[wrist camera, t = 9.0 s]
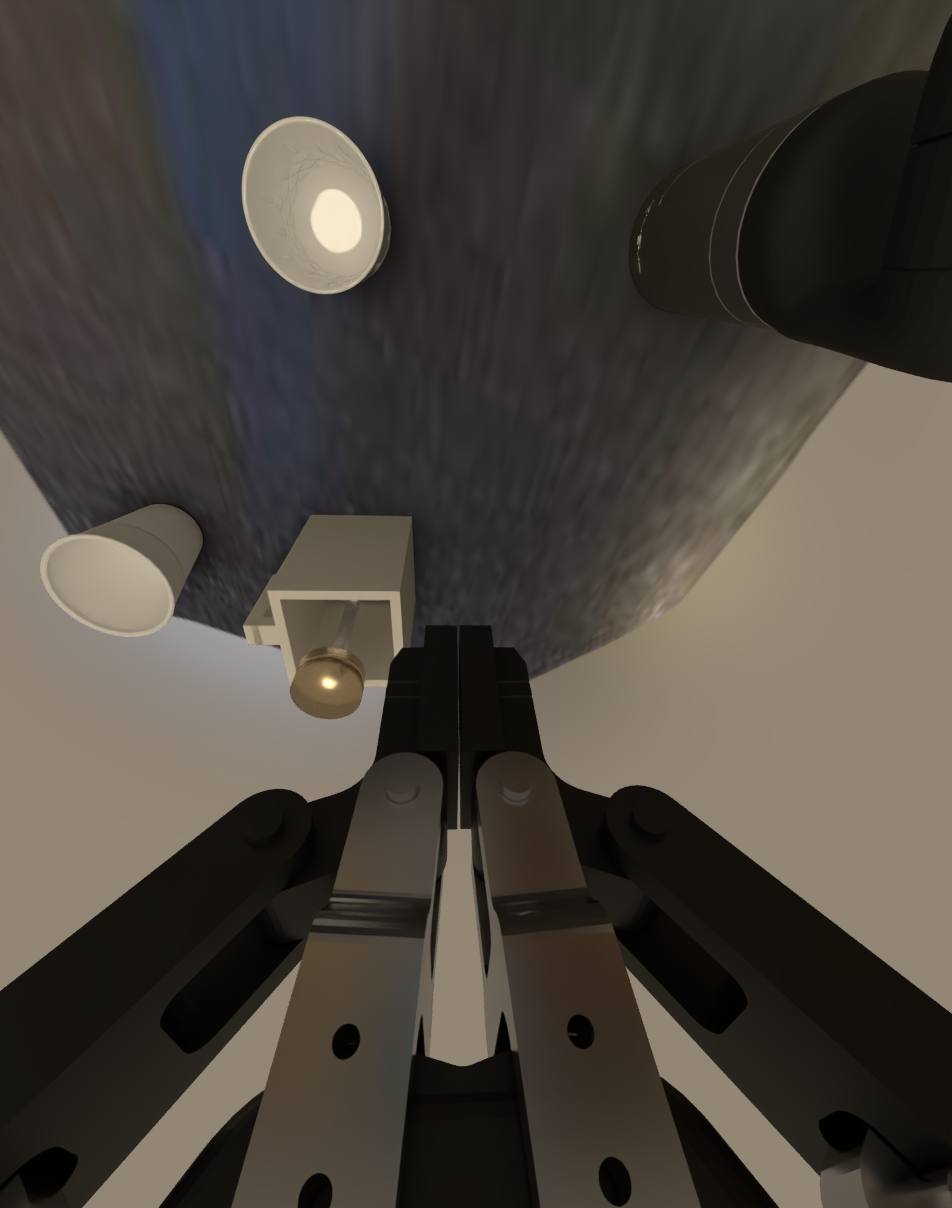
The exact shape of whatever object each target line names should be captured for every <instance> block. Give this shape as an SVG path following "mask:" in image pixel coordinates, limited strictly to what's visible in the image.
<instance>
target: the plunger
mask: <svg viewBox="0 0 952 1208" xmlns="http://www.w3.org/2000/svg"><path fill="white" fill-rule="evenodd" d="M361 601H390V600H347V602H346V605H345V609H344V612H343V615H342V618H341V621H340V624H339V627H338V631H337V634H336V637H335V640H334V643H333V646H332V647H320V648H316V649H313V650H311V651H309V652H308V653H306V654H305V655H304V656H303V657H302V659H301V661H300V663H299V666H298V668H297V671H296V673H295V676H294V679H293V681H292V684H291V687H290V694H291V698H292V700H293V702H294V703H295V704H296V706H297V707H298V708H300V709H301V710H302V711H304V712H305V713H307V714H309V715H312V716H314V717H318V718H323V719H337V718H342V717H345V716H348V715H350V714H351V713H353V712H354V711H355V710H356V709H357V708H358V706H359V705H360V702H361V698H362V693H363V689H364V684H365V679H366V670H365V667H364V665H363V663H362V662H361V660H360V659H359V658H358V657H357V656H355V655H354V654H352V653H351V652H349V651H347V649H348V646H349V642H350V638H351V635H352V631H353V628H354V624H355V620H356V617H357V613H358V610H359V606H360V602H361Z"/></svg>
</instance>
